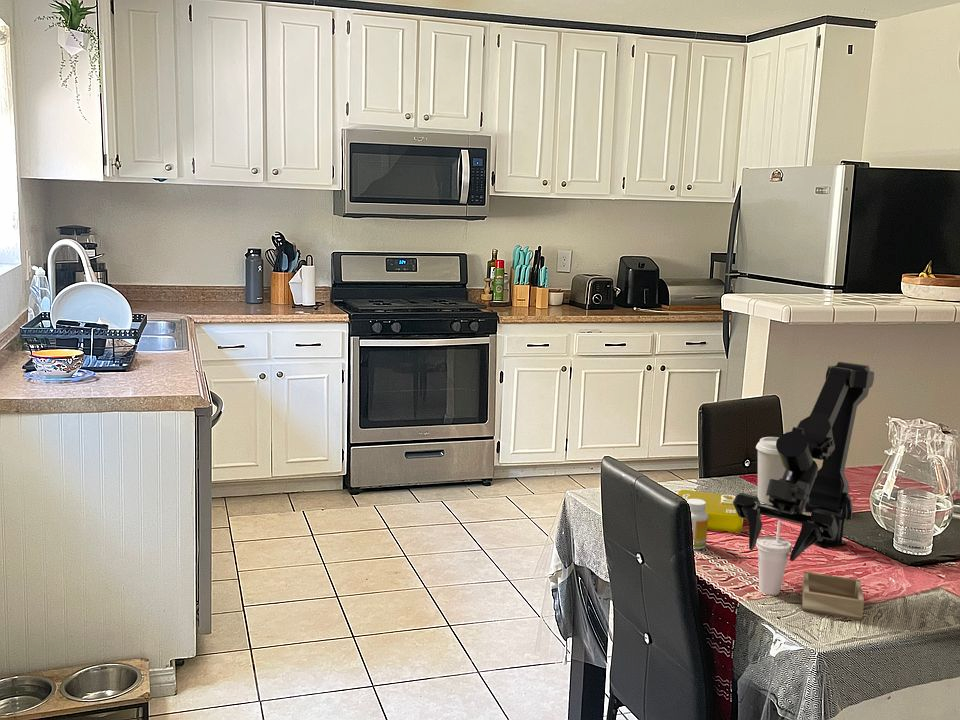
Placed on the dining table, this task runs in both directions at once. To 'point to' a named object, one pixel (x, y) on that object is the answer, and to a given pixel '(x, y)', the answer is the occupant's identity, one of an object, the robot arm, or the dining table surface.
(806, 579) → the cup holder
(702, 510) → the supplement bottle
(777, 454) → the coffee cup
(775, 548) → the smoothie
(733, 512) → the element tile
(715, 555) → the dining table surface
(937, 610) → the dining table surface
